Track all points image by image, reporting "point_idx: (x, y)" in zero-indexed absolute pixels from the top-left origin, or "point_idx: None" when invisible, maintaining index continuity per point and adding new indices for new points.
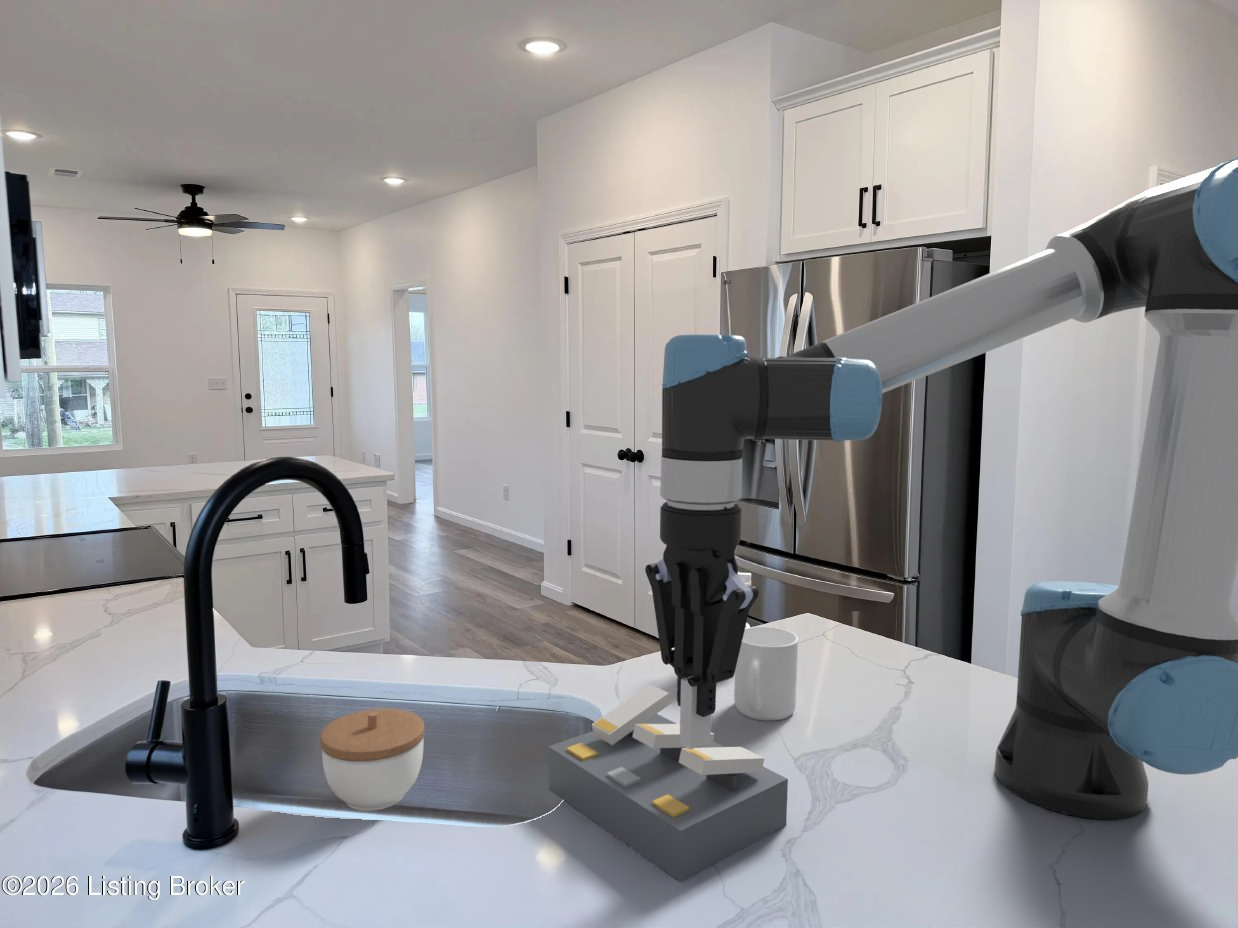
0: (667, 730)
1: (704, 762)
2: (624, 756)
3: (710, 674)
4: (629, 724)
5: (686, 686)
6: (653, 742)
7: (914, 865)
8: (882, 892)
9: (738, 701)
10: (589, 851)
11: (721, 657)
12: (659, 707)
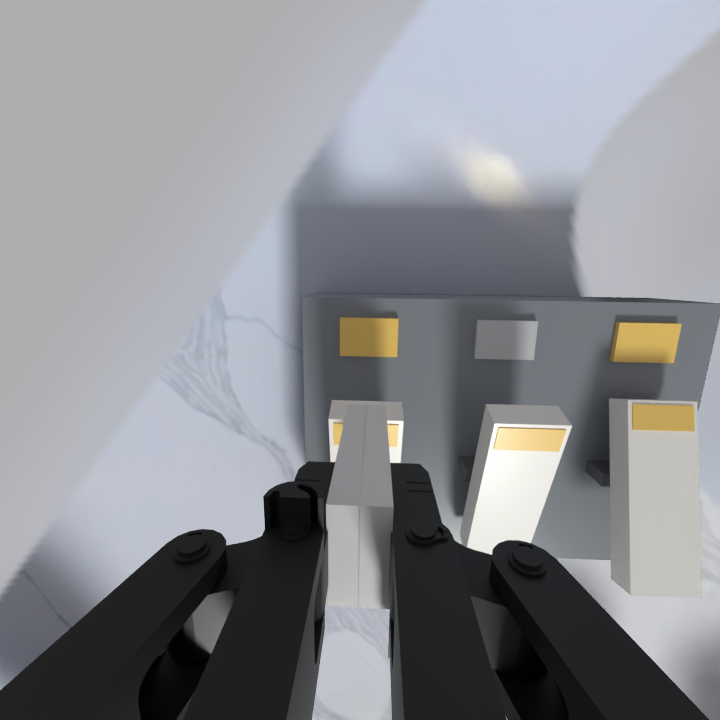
0: (509, 472)
1: (329, 416)
2: (564, 396)
3: (186, 557)
4: (622, 457)
5: (358, 492)
6: (490, 411)
7: (165, 540)
8: (151, 471)
9: None
10: (459, 237)
11: (21, 673)
12: (616, 547)
